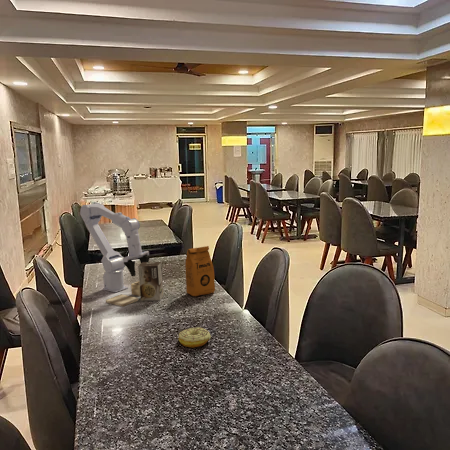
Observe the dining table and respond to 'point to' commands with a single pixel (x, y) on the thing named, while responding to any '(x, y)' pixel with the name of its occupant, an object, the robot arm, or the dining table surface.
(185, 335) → the decorated donut
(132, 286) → the letter block
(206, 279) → the coffee package
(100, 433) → the dining table surface
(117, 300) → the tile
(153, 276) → the coffee box
